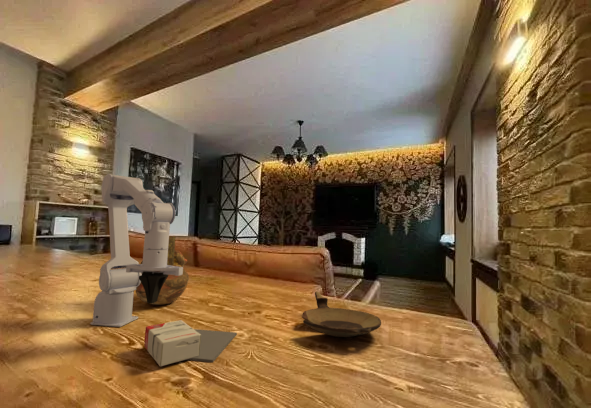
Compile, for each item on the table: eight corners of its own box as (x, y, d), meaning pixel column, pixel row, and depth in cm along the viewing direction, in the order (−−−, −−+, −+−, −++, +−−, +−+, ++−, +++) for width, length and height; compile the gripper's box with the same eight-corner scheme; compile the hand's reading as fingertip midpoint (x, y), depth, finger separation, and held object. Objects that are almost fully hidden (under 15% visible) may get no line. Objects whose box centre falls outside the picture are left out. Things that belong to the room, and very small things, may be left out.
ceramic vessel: (201, 295, 117) (205, 234, 119) (164, 315, 91) (169, 236, 93) (163, 292, 119) (167, 233, 121) (116, 310, 94) (122, 234, 96)
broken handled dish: (299, 349, 70) (300, 317, 70) (302, 312, 99) (303, 290, 100) (392, 355, 68) (392, 322, 69) (367, 315, 98) (367, 293, 99)
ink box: (143, 348, 66) (159, 367, 57) (145, 326, 66) (161, 342, 58) (180, 339, 72) (200, 356, 63) (182, 319, 72) (202, 333, 63)
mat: (152, 356, 63) (152, 354, 63) (188, 330, 79) (188, 328, 79) (212, 362, 61) (213, 359, 62) (236, 334, 77) (236, 332, 77)
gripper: (190, 248, 77) (186, 300, 76) (140, 246, 78) (136, 296, 77) (175, 251, 70) (172, 307, 69) (121, 248, 71) (117, 303, 70)
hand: (152, 302), depth 73 cm, fingers closed
